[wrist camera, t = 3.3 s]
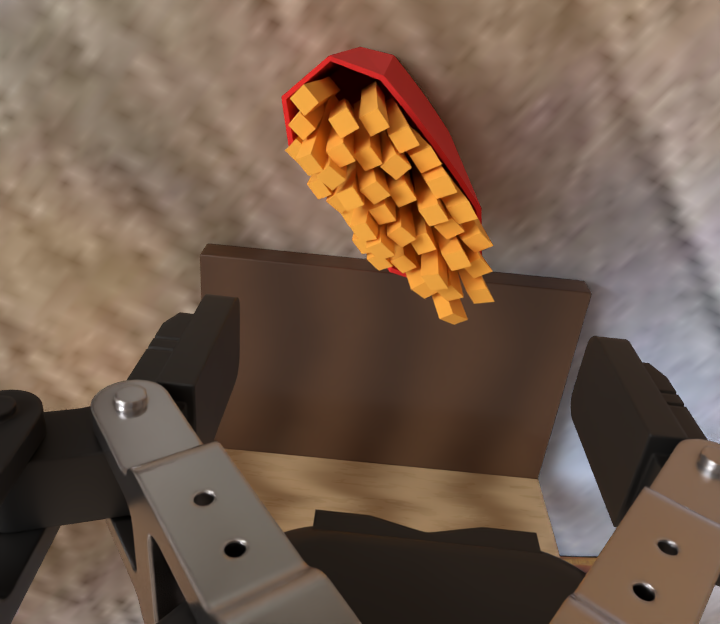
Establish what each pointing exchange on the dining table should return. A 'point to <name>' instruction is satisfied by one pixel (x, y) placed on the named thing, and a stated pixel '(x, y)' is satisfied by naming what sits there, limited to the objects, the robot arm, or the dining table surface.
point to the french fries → (390, 174)
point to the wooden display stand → (393, 391)
